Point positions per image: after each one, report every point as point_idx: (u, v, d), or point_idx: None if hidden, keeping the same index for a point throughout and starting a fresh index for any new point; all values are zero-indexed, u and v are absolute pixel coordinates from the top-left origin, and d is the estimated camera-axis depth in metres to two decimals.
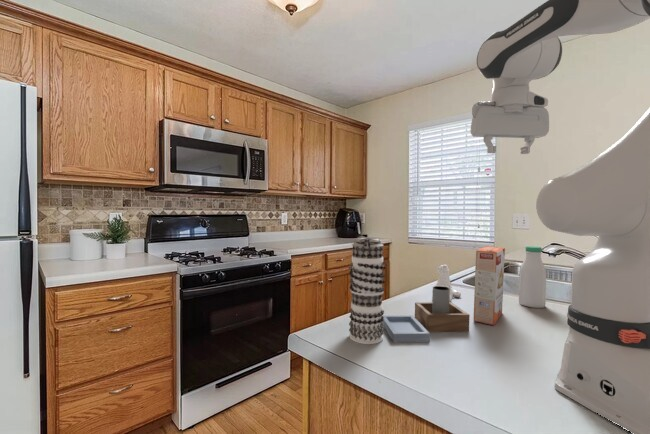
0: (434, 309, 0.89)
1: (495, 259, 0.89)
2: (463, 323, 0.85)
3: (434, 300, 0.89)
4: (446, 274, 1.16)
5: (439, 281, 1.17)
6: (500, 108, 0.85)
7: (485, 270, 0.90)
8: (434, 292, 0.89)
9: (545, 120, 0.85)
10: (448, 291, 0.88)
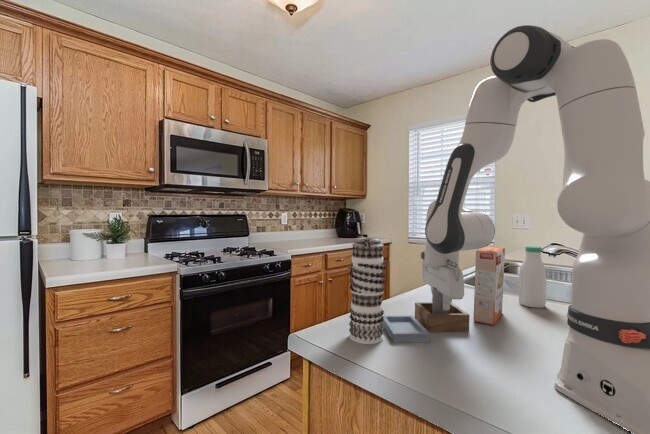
0: (434, 309, 0.89)
1: (495, 259, 0.89)
2: (463, 323, 0.85)
3: (434, 300, 0.89)
4: None
5: None
6: None
7: (485, 270, 0.90)
8: (434, 292, 0.89)
9: None
10: None
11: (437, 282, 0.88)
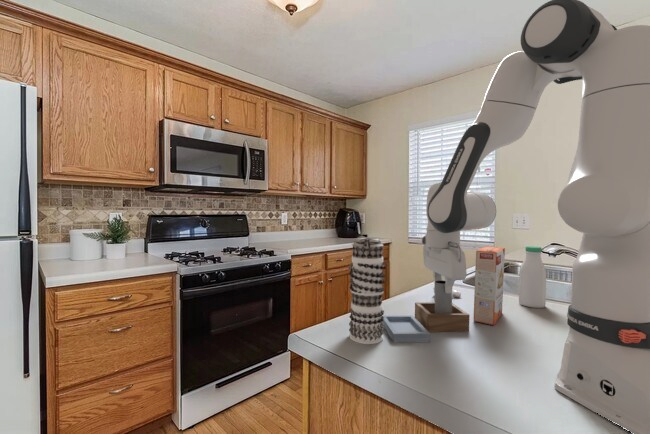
0: (437, 303, 0.88)
1: (495, 259, 0.89)
2: (463, 323, 0.85)
3: (437, 294, 0.88)
4: None
5: None
6: None
7: (485, 270, 0.90)
8: (436, 286, 0.88)
9: None
10: None
11: (439, 266, 0.88)
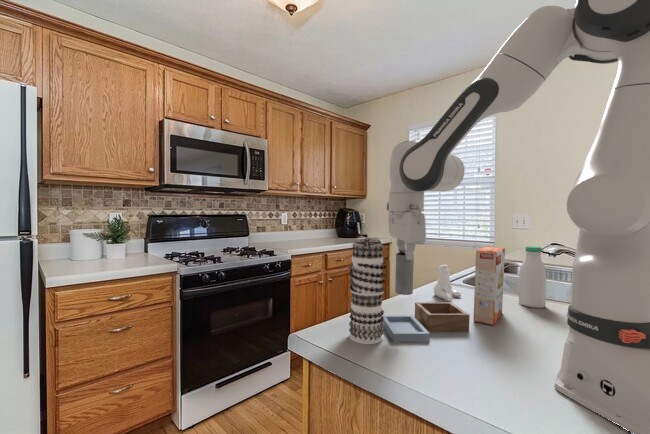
0: (397, 276, 0.83)
1: (495, 259, 0.89)
2: (463, 323, 0.85)
3: (397, 267, 0.83)
4: (446, 274, 1.16)
5: (439, 281, 1.17)
6: None
7: (485, 270, 0.90)
8: (397, 258, 0.83)
9: None
10: None
11: (400, 231, 0.82)
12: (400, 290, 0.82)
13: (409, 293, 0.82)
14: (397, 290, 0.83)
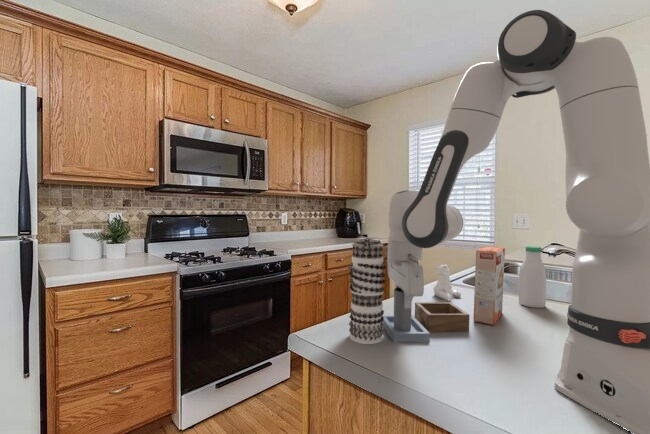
0: (395, 312, 0.84)
1: (495, 259, 0.89)
2: (463, 323, 0.85)
3: (395, 303, 0.84)
4: (446, 274, 1.16)
5: (439, 281, 1.17)
6: None
7: (485, 270, 0.90)
8: (395, 294, 0.84)
9: None
10: None
11: (399, 279, 0.83)
12: (398, 326, 0.83)
13: (407, 329, 0.83)
14: (395, 326, 0.84)
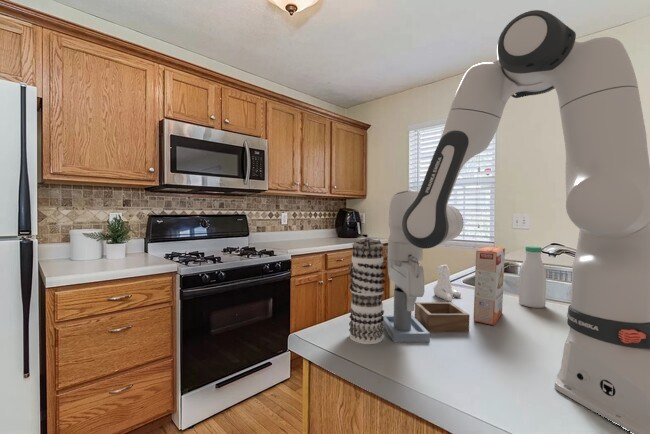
0: (395, 312, 0.84)
1: (495, 259, 0.89)
2: (463, 323, 0.85)
3: (395, 303, 0.84)
4: (446, 274, 1.16)
5: (439, 281, 1.17)
6: None
7: (485, 270, 0.90)
8: (395, 294, 0.84)
9: None
10: None
11: (399, 279, 0.83)
12: (398, 326, 0.83)
13: (407, 329, 0.83)
14: (395, 326, 0.84)
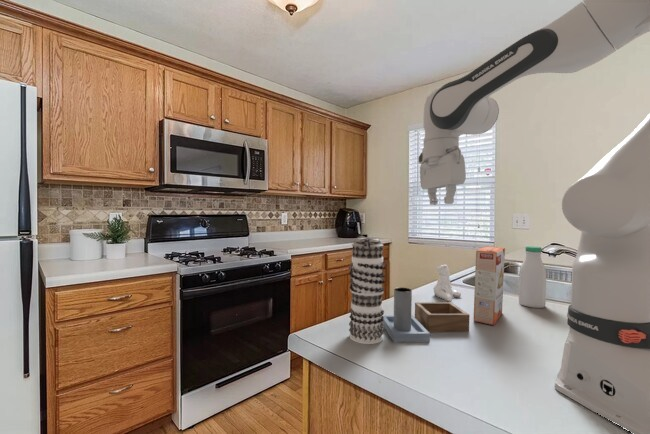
0: (395, 312, 0.84)
1: (495, 259, 0.89)
2: (463, 323, 0.85)
3: (395, 303, 0.84)
4: (446, 274, 1.16)
5: (439, 281, 1.17)
6: None
7: (485, 270, 0.90)
8: (395, 294, 0.84)
9: None
10: (410, 293, 0.83)
11: (436, 177, 0.83)
12: (398, 326, 0.83)
13: (407, 329, 0.83)
14: (395, 326, 0.84)
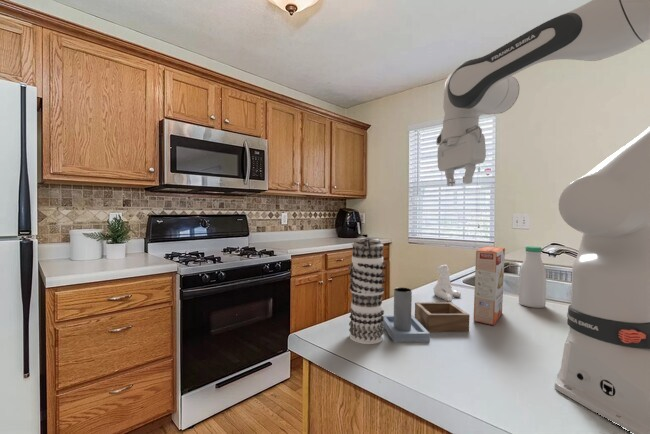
0: (395, 312, 0.84)
1: (495, 259, 0.89)
2: (463, 323, 0.85)
3: (395, 303, 0.84)
4: (446, 274, 1.16)
5: (439, 281, 1.17)
6: None
7: (485, 270, 0.90)
8: (395, 294, 0.84)
9: None
10: (410, 293, 0.83)
11: (455, 157, 0.84)
12: (398, 326, 0.83)
13: (407, 329, 0.83)
14: (395, 326, 0.84)
